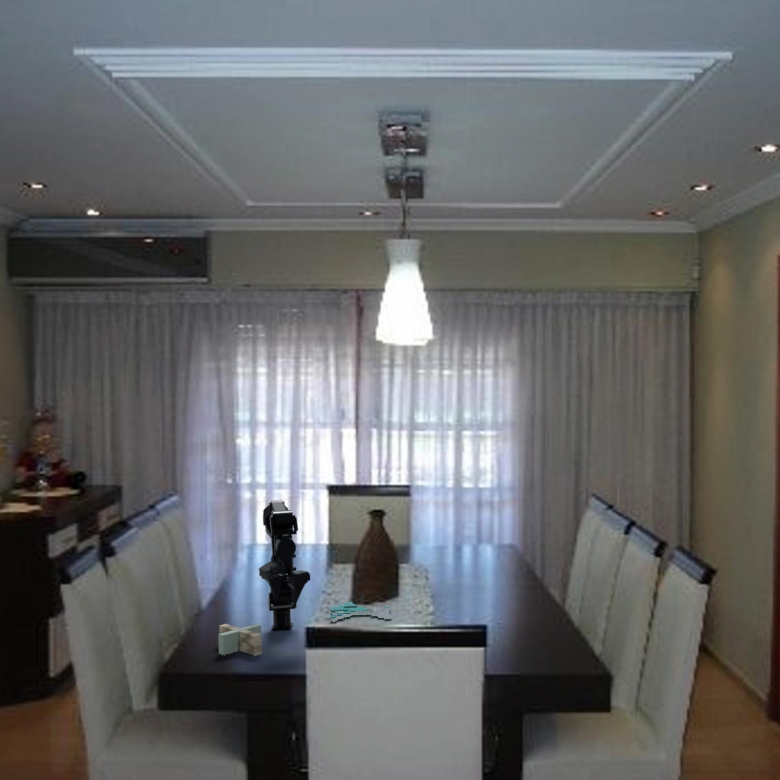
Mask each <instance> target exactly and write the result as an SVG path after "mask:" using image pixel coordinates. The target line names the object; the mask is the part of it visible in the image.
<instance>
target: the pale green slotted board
mask: <svg viewBox="0 0 780 780" xmlns="http://www.w3.org/2000/svg"><path fill="white" fill-rule="evenodd" d="M239 628H240V629H236V630H232V631H228V632H225V633H221V634H220V633H218V634H217V636H218V637H217V639H218V654H219V655H220V654H221V655H220V656H223V655H224V656H227V655H226V654H228V655H231V654H233V652H235V653H238V652H240V651H239V648H238V641H240V631H244V630H249V631H252V632H255V633H259V634H261V635H262V626H261V624H258V623H255V624H252V625H248V626H245V627H239ZM261 641H262V639H261ZM237 651H238V652H237ZM230 653H231V654H230Z"/></svg>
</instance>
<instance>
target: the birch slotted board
mask: <svg viewBox="0 0 780 780" xmlns="http://www.w3.org/2000/svg"><path fill="white" fill-rule="evenodd" d="M240 628H241V627H238V626H234V625H231V624H229V623H224V624H221V625H220V624H219V629H218V630H219V634H221V633H225V632H228V631H232V630H236V629H240ZM261 640H262V633H261V634H259V633H255V632H252V631H249V630H244V631H240V641H238V648H239V651H238V652H241V651H242V652H241V653H244V652H245V653H244V654H247V653H248V654H247V655H250V654H251V655H250V656H253V655H254V657H258V656H261V655H263V648H262V647H263V644H262V643H263V642H262V641H261ZM260 654H261V655H260ZM257 655H258V656H257Z"/></svg>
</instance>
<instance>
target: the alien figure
mask: <svg viewBox="0 0 780 780" xmlns="http://www.w3.org/2000/svg"><path fill="white" fill-rule="evenodd" d="M384 608H391V607H390V606H389V607H384ZM348 610H350V611H348ZM365 610H366V611H368V610H367V609H366V608H365V607H360V606H357V605H355V604H353V603H352V601H350V602H344V603H343V604H337V606H331V607H330V613H331V612H334V611H344V613H337V615H331V614H330V615H329V619H330V618H336V617H337V616H342V615H344V614H350V612H355V611H365ZM369 610H370V609H369ZM370 611H371V610H370ZM385 614H386V613H385ZM390 615H391V613H390Z"/></svg>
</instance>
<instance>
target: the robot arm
mask: <svg viewBox="0 0 780 780" xmlns="http://www.w3.org/2000/svg"><path fill="white" fill-rule="evenodd" d="M262 512H263V513H262V525H263V527H265V532H266V534H267V535H268V537H269V538H270V543H271V544H270V545H271V557H270V561H269V562H266V563H265V564H263V565H262V566H260V567H259V568H258V572H259V577H261V579H263V580H265V581H266V582H267V584H268V585H269V589H270V590H269V592H268V597H267V607H268V611H269V612H272V618H273V619H272V620H273V624H272V626H271V628H270V629H272V631H279V630H280V631H281V630H283V631H284V630H286V631H287V630H292V628H293V626H294V622H292V617H291V615H292V612H291V610H296V608H297V604H298V603H297V602H298V601H299V598H300V596H301V594H302V592H303V590H304V587H305V586H306V584H308V582H310V581H311V573H310V572H309V571H307V570H302V569H301V570H297V567H296V566H294V559H295V558H296V557H297V554H296V551H297V545H296V542H295V541H294V539H293V535H297V534H298V533H297V532H298V531H299V527H298V520H297V517H296V514H294V512H293V511H292V510H291V509H289V507H287V506H286V504H285V500H282V499H276V500H270V501H268V505H267V506H266V507H265V508H264V509H263V510H262Z"/></svg>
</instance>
